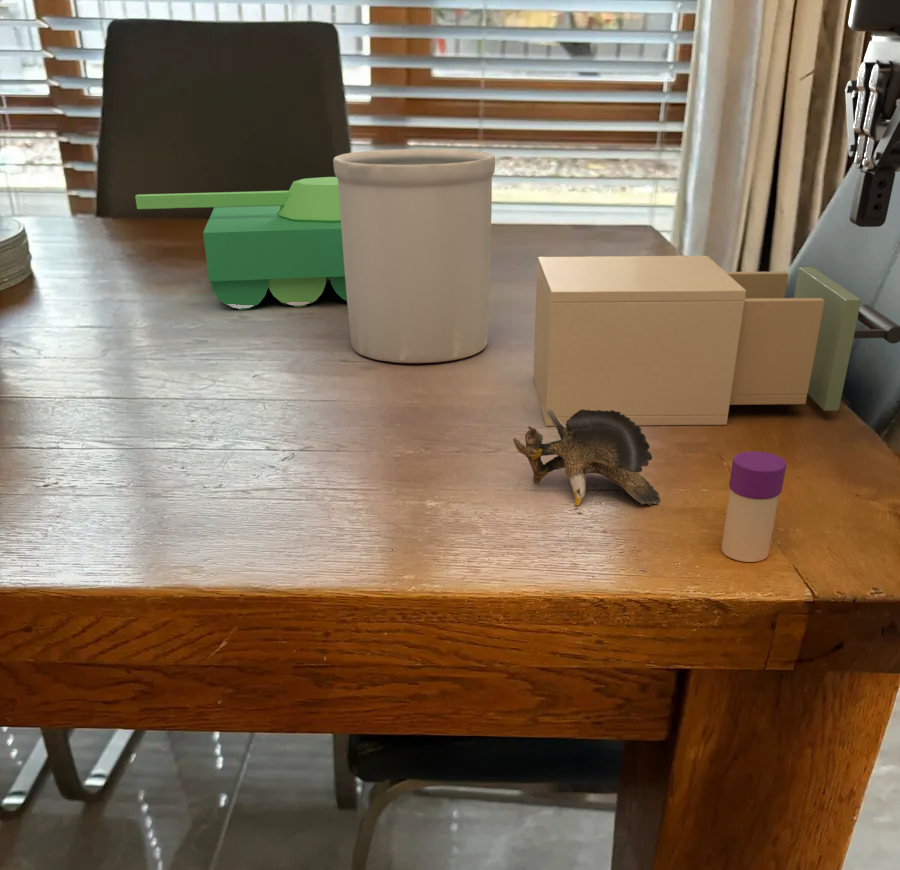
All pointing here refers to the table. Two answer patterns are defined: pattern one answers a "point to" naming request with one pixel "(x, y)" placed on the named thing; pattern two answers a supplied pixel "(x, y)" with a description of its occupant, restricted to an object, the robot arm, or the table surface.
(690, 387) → the cabinet
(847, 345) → the drawer
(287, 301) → the toy tank
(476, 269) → the utensil holder
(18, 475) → the table surface
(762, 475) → the glue stick
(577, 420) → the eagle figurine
